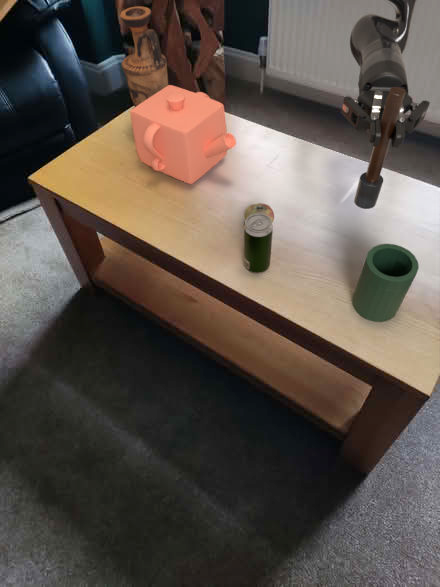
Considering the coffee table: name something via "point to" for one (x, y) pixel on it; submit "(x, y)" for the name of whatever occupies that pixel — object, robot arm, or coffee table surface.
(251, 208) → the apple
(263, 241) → the beer can
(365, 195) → the brush
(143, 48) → the vase
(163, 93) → the teapot
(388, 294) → the green hollow cylinder
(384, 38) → the robot arm
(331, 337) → the coffee table surface
